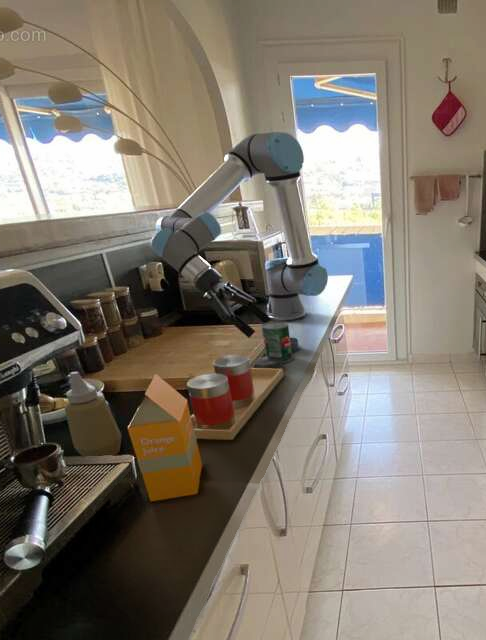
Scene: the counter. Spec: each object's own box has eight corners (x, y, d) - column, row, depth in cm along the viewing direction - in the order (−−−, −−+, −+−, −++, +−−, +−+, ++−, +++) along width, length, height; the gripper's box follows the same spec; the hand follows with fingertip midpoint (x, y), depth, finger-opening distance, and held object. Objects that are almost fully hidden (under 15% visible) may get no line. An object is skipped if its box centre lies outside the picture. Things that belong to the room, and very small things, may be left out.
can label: (229, 394, 114) (221, 354, 110) (260, 395, 114) (254, 355, 109) (215, 409, 107) (206, 366, 102) (248, 410, 107) (240, 367, 102)
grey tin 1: (262, 365, 134) (260, 355, 133) (284, 365, 134) (283, 356, 133) (253, 374, 128) (252, 364, 127) (277, 374, 128) (276, 365, 126)
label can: (207, 416, 104) (198, 372, 99) (241, 417, 103) (233, 373, 98) (190, 434, 96) (179, 388, 92) (227, 435, 96) (217, 389, 91)
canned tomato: (263, 357, 141) (258, 323, 136) (288, 353, 144) (284, 319, 139) (269, 365, 134) (264, 329, 129) (295, 360, 137) (291, 326, 133)
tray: (243, 375, 127) (242, 367, 126) (283, 376, 126) (282, 368, 125) (179, 439, 95) (176, 429, 94) (232, 441, 95) (230, 431, 94)
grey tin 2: (281, 345, 150) (279, 337, 149) (301, 346, 150) (300, 337, 149) (274, 352, 144) (273, 343, 143) (295, 353, 144) (294, 344, 142)
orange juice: (149, 501, 77) (116, 397, 68) (159, 473, 84) (131, 375, 76) (198, 493, 79) (172, 391, 70) (203, 466, 86) (181, 370, 77)
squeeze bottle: (69, 463, 87) (35, 379, 79) (103, 442, 94) (75, 363, 86) (103, 469, 85) (72, 383, 78) (135, 447, 93) (110, 366, 85)
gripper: (215, 277, 142) (267, 324, 147) (173, 295, 119) (236, 349, 125) (228, 260, 139) (281, 308, 145) (188, 275, 117) (252, 331, 122)
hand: (260, 327), depth 135 cm, fingers open, 13 cm apart
